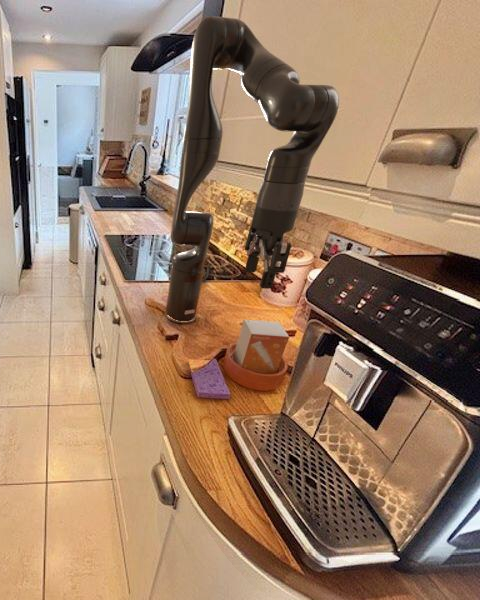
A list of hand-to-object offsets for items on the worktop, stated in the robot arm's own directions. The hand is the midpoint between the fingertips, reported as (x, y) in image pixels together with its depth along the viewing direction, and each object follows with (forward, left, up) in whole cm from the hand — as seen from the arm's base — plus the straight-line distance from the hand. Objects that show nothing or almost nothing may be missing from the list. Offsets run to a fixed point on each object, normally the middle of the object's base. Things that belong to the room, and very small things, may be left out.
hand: (257, 279), depth 72 cm
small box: (+3, +4, -24) cm, 24 cm away
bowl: (+3, +4, -24) cm, 25 cm away
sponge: (+7, -8, -24) cm, 26 cm away
